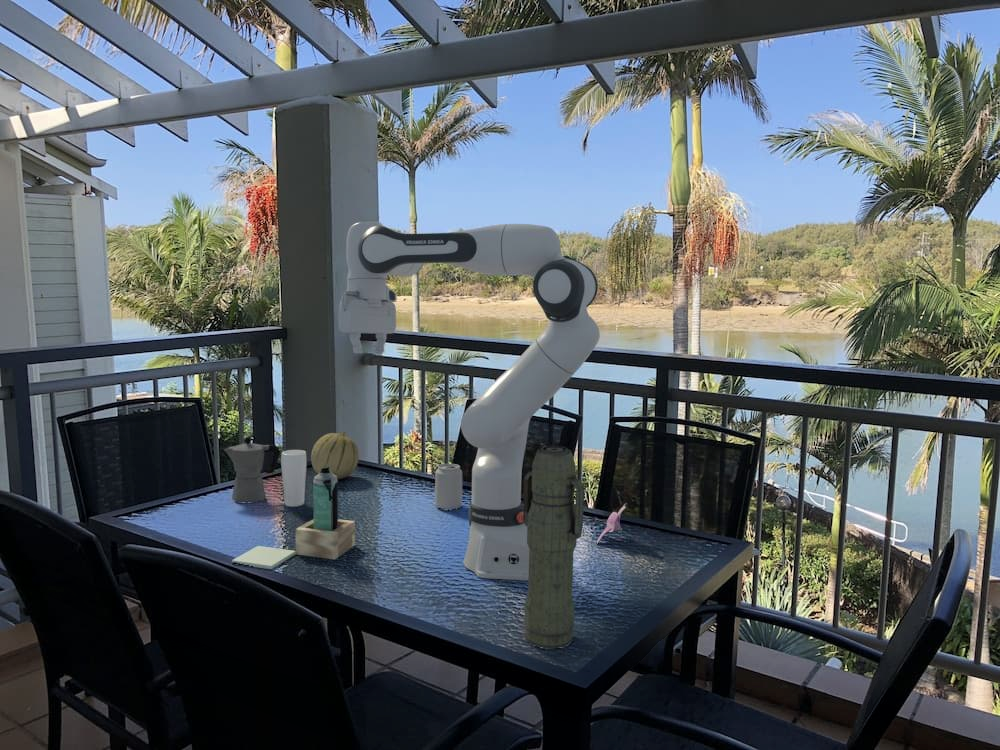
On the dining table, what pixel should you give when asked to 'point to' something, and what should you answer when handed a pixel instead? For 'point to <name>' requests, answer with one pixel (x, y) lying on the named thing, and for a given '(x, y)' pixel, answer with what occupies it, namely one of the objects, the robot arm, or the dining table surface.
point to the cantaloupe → (335, 454)
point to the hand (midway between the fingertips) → (369, 353)
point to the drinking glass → (293, 476)
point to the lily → (613, 523)
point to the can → (448, 486)
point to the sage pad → (264, 557)
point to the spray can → (325, 500)
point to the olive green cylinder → (551, 545)
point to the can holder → (325, 540)
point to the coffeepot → (250, 470)
